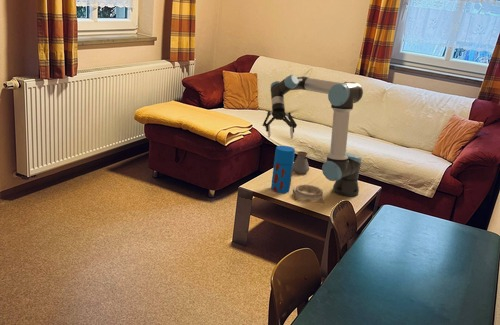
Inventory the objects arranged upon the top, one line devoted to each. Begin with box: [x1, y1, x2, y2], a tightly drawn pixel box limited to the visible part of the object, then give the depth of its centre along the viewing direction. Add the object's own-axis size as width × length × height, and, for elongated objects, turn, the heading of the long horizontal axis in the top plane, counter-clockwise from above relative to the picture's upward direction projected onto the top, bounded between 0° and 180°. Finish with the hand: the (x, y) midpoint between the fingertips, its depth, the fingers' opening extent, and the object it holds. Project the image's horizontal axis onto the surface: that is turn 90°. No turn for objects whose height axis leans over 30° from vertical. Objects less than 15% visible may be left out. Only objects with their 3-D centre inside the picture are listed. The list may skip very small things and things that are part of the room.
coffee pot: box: [292, 151, 310, 175], centre depth 307 cm, size 21×12×15 cm, turn 4°
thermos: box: [270, 145, 296, 194], centre depth 277 cm, size 11×11×25 cm
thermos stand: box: [293, 184, 325, 204], centre depth 275 cm, size 16×16×4 cm
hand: (280, 137), depth 282 cm, fingers open, 13 cm apart
